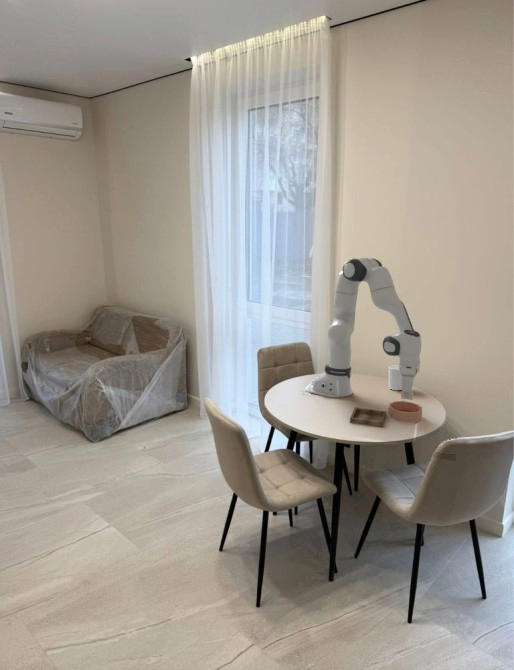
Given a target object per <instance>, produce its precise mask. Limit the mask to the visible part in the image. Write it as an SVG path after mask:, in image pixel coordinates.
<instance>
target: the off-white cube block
mask: <svg viewBox="0 0 514 670" xmlns="http://www.w3.org/2000/svg"><path fill="white" fill-rule="evenodd" d="M414 391H415V390H414V389H412V390H411V393H409V398H405V392H403V391H401V397H400V399H402V400H411V401H413V400H414Z"/></svg>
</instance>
